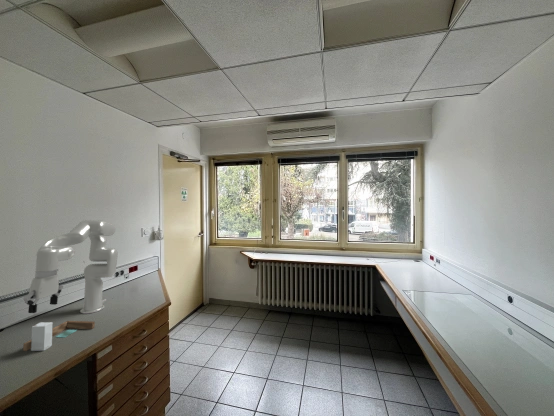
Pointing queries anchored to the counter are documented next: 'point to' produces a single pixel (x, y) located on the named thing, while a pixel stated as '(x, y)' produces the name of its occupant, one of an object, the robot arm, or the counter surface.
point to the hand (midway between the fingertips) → (43, 308)
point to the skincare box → (41, 336)
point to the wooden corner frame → (62, 327)
